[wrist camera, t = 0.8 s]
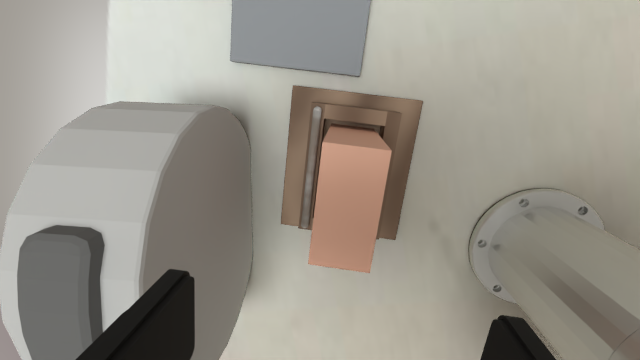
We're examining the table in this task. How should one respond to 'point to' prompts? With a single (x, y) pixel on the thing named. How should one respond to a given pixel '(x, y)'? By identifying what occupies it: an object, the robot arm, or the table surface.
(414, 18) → the table surface
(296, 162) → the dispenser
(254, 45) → the mat
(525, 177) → the table surface
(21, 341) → the alarm clock
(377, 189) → the salmon pink tall block
